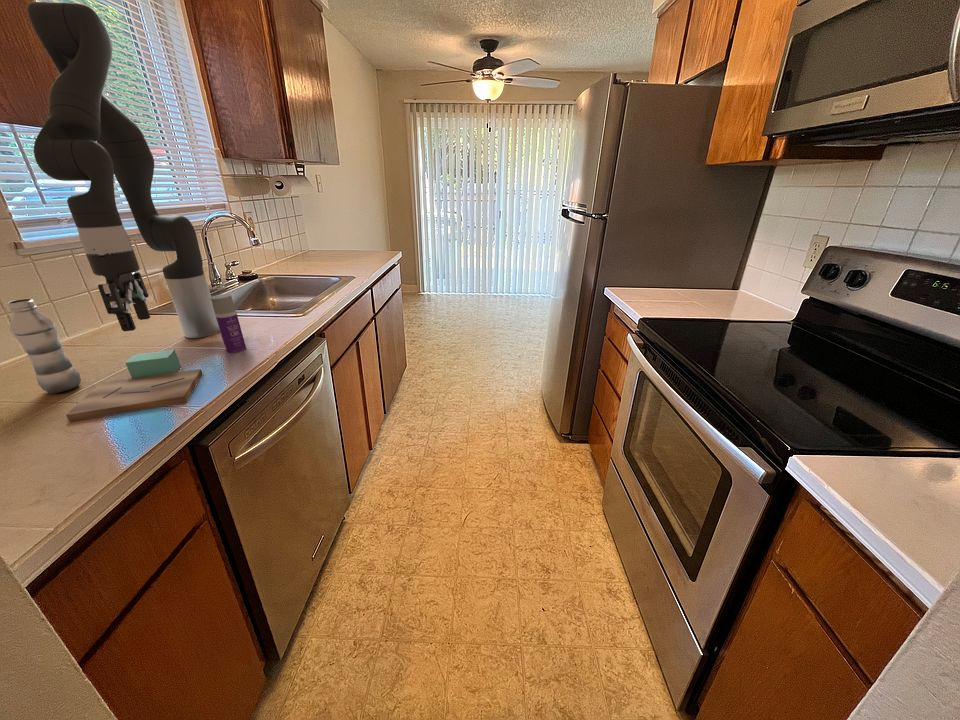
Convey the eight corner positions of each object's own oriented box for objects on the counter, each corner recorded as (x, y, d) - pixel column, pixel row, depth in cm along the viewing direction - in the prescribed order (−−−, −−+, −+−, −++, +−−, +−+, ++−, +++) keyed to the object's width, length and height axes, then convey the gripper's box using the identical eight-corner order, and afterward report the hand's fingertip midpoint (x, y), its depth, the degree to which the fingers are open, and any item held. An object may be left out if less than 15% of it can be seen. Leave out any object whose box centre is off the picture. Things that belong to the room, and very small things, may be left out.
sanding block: (142, 373, 95) (134, 354, 93) (181, 368, 97) (174, 349, 95) (133, 382, 90) (125, 362, 88) (174, 377, 93) (167, 357, 91)
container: (237, 355, 103) (221, 299, 97) (222, 354, 104) (205, 298, 98) (250, 348, 108) (235, 294, 101) (235, 347, 109) (220, 293, 102)
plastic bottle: (49, 399, 83) (0, 307, 75) (39, 391, 87) (-8, 302, 78) (89, 387, 88) (47, 299, 80) (78, 380, 92) (37, 295, 83)
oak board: (103, 388, 87) (100, 382, 87) (203, 374, 93) (201, 368, 93) (69, 421, 75) (65, 414, 75) (186, 402, 81) (183, 395, 81)
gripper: (103, 246, 87) (130, 317, 93) (67, 255, 75) (101, 337, 81) (144, 244, 89) (168, 314, 96) (116, 253, 77) (145, 332, 83)
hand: (137, 324), depth 88 cm, fingers open, 8 cm apart
